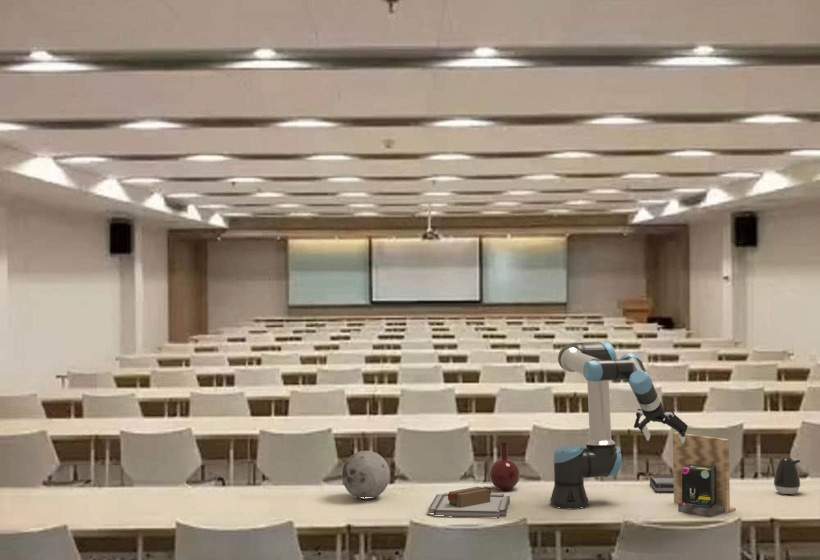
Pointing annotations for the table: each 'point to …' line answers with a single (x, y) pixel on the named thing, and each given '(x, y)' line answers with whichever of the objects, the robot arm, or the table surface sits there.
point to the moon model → (365, 474)
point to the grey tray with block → (470, 503)
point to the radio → (662, 484)
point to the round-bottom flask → (504, 471)
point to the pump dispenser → (787, 476)
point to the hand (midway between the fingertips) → (666, 439)
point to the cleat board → (703, 453)
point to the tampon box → (699, 485)
